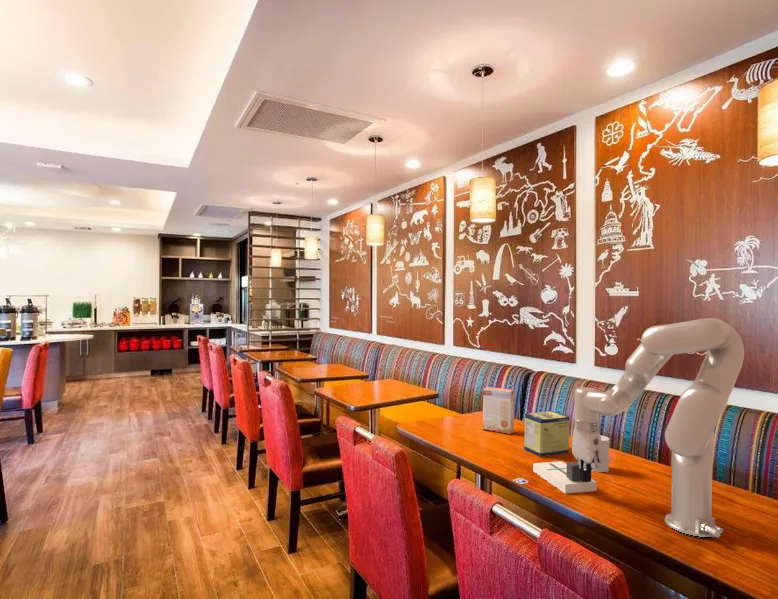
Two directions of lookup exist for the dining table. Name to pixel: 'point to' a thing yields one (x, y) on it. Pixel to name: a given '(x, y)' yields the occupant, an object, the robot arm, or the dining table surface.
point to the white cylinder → (604, 456)
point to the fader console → (562, 477)
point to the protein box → (546, 433)
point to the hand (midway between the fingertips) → (585, 480)
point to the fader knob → (573, 471)
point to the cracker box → (498, 410)
